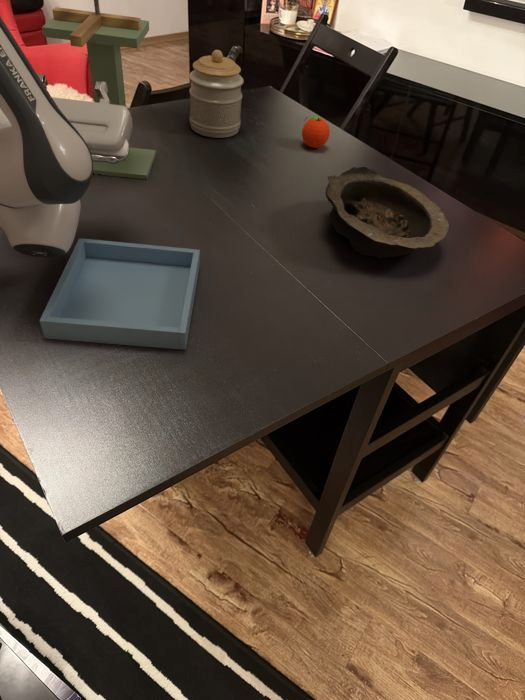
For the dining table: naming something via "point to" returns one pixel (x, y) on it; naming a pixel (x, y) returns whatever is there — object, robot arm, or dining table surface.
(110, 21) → the wooden t-shaped piece
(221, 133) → the jar
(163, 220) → the dining table surface
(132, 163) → the green pedestal stand
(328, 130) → the clementine
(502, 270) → the dining table surface
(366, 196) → the stone bowl
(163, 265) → the tray
